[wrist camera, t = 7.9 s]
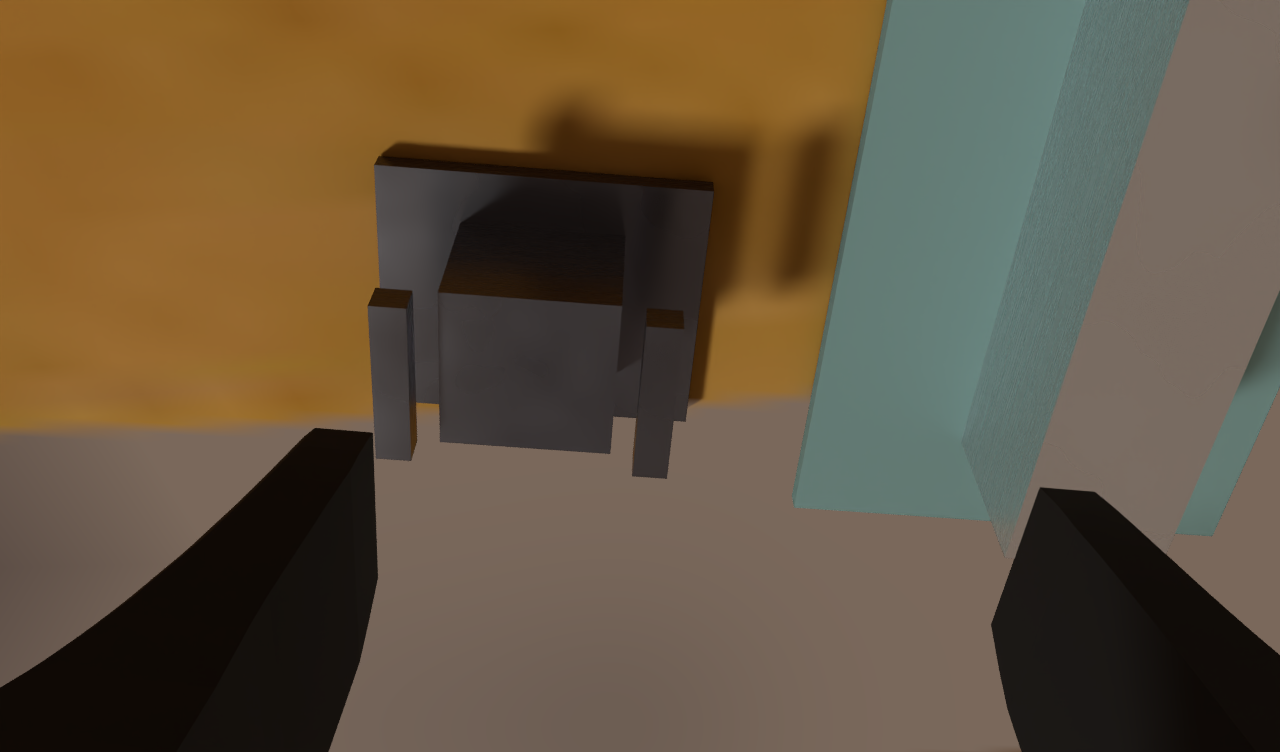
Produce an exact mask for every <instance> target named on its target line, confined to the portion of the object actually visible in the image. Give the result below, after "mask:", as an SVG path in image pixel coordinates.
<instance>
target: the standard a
mask: <svg viewBox="0 0 1280 752" xmlns="http://www.w3.org/2000/svg"><path fill="white" fill-rule="evenodd" d="M374 171H375V192H376V213H377V234H378V255H379V276H380V288H375V290H374V292H373V295H372V297H371V300H370V302H369V304H368V320H369V338H370V356H371V375H372V393H373V412H374V427H375V429H374V430H375V448H376V458H377V459H391V460H407V461H411V460H412V456H413V453H414V450H415V446H416V443H417V417H416V402H418V403H432V404H439V411H440V442H449V443H464V444H477V445H491V446H506V447H520V448H534V449H535V448H536V449H548V450H564V451H577V452H592V453H605V454H606V453H607V454H610V449H611V438H612V425H613V416H615V417H628V418H636V427H635V438H634V448H633V466H632V476H636V477H651V478H665V479H667V472H668V464H669V455H670V447H671V438H672V430H673V421H686V414H687V406H688V397H689V389H690V381H691V373H692V365H693V357H694V349H695V341H696V333H697V324H698V316H699V308H700V300H701V292H702V284H703V276H704V268H705V260H706V252H707V243H708V235H709V227H710V219H711V211H712V203H713V195H714V188H713V182H700V181H687V180H675V179H662V178H649V177H636V176H624V175H611V174H598V173H585V172H573V171H560V170H547V169H534V168H522V167H509V166H496V165H483V164H471V163H458V162H445V161H432V160H420V159H407V158H394V157H381V156H379V157H378V159H377V161H376V163H375V164H374Z"/></svg>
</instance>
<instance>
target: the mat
mask: <svg viewBox="0 0 1280 752" xmlns="http://www.w3.org/2000/svg"><path fill="white" fill-rule="evenodd" d="M1085 2H1086V0H887V5H886V10H885V15H884V20H883V25H882V31H881V36H880V41H879V46H878V51H877V57H876V62H875V67H874V72H873V77H872V83H871V88H870V93H869V98H868V103H867V109H866V114H865V119H864V124H863V129H862V135H861V140H860V145H859V150H858V155H857V161H856V166H855V171H854V176H853V181H852V187H851V192H850V197H849V202H848V207H847V213H846V218H845V223H844V228H843V233H842V239H841V244H840V249H839V254H838V259H837V265H836V270H835V275H834V280H833V285H832V291H831V296H830V301H829V306H828V311H827V317H826V322H825V327H824V332H823V337H822V343H821V348H820V353H819V358H818V363H817V369H816V374H815V379H814V384H813V389H812V395H811V400H810V405H809V411H808V416H807V421H806V426H805V431H804V436H803V441H802V447H801V452H800V457H799V463H798V467H797V473H796V478H795V483H794V488H793V493H792V498H793V504H794V507H795V508H810V509H825V510H839V511H853V512H868V513H883V514H897V515H912V516H926V517H941V518H955V519H969V520H984V521H991V520H990V517H989V514H988V512H987V509H986V507H985V504H984V501H983V499H982V496H981V493H980V491H979V488H978V485H977V483H976V480H975V477H974V475H973V472H972V470H971V467H970V464H969V462H968V459H967V456H966V454H965V451H964V448H963V446H962V443H961V440H962V436H963V433H964V429H965V425H966V422H967V418H968V415H969V411H970V408H971V404H972V401H973V397H974V394H975V390H976V387H977V383H978V380H979V376H980V373H981V369H982V366H983V362H984V358H985V355H986V351H987V348H988V344H989V341H990V337H991V334H992V330H993V327H994V323H995V320H996V316H997V313H998V309H999V306H1000V302H1001V299H1002V295H1003V291H1004V288H1005V284H1006V281H1007V277H1008V274H1009V270H1010V267H1011V263H1012V260H1013V256H1014V253H1015V249H1016V246H1017V242H1018V239H1019V235H1020V232H1021V228H1022V224H1023V221H1024V217H1025V214H1026V210H1027V207H1028V203H1029V200H1030V196H1031V193H1032V189H1033V186H1034V182H1035V179H1036V175H1037V172H1038V168H1039V165H1040V161H1041V157H1042V154H1043V150H1044V147H1045V143H1046V140H1047V136H1048V133H1049V129H1050V126H1051V122H1052V119H1053V115H1054V112H1055V108H1056V105H1057V101H1058V98H1059V94H1060V90H1061V87H1062V83H1063V80H1064V76H1065V73H1066V69H1067V66H1068V62H1069V59H1070V55H1071V52H1072V48H1073V45H1074V41H1075V38H1076V34H1077V31H1078V27H1079V23H1080V20H1081V16H1082V13H1083V9H1084V6H1085ZM1279 388H1280V291H1279V293H1278V295H1277V298H1276V300H1275V302H1274V305H1273V307H1272V309H1271V312H1270V314H1269V316H1268V319H1267V321H1266V323H1265V326H1264V328H1263V330H1262V332H1261V335H1260V337H1259V339H1258V342H1257V344H1256V346H1255V349H1254V351H1253V353H1252V356H1251V358H1250V360H1249V363H1248V365H1247V367H1246V370H1245V372H1244V374H1243V377H1242V379H1241V381H1240V384H1239V386H1238V388H1237V391H1236V393H1235V395H1234V398H1233V400H1232V402H1231V405H1230V407H1229V409H1228V412H1227V414H1226V416H1225V419H1224V421H1223V423H1222V426H1221V428H1220V430H1219V432H1218V435H1217V437H1216V439H1215V442H1214V444H1213V446H1212V449H1211V451H1210V453H1209V456H1208V458H1207V460H1206V463H1205V465H1204V467H1203V470H1202V472H1201V474H1200V477H1199V479H1198V481H1197V484H1196V486H1195V488H1194V491H1193V493H1192V495H1191V498H1190V500H1189V502H1188V505H1187V507H1186V509H1185V512H1184V514H1183V516H1182V519H1181V521H1180V523H1179V526H1178V528H1177V530H1176V532H1175V534H1187V535H1202V536H1212V535H1213V533H1214V531H1215V529H1216V527H1217V524H1218V522H1219V520H1220V518H1221V516H1222V513H1223V511H1224V509H1225V507H1226V504H1227V502H1228V500H1229V498H1230V496H1231V493H1232V491H1233V489H1234V487H1235V485H1236V483H1237V480H1238V478H1239V476H1240V474H1241V471H1242V469H1243V467H1244V465H1245V463H1246V461H1247V458H1248V456H1249V454H1250V452H1251V450H1252V447H1253V445H1254V443H1255V441H1256V438H1257V436H1258V434H1259V432H1260V430H1261V427H1262V425H1263V423H1264V421H1265V419H1266V416H1267V414H1268V412H1269V410H1270V408H1271V405H1272V403H1273V401H1274V399H1275V397H1276V394H1277V392H1278V390H1279Z"/></svg>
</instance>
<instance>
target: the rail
mask: <svg viewBox="0 0 1280 752" xmlns="http://www.w3.org/2000/svg"><path fill="white" fill-rule="evenodd" d="M1279 291H1280V0H1086V2H1085V6H1084V9H1083V13H1082V16H1081V20H1080V23H1079V27H1078V31H1077V34H1076V38H1075V41H1074V45H1073V48H1072V52H1071V55H1070V59H1069V62H1068V66H1067V69H1066V73H1065V76H1064V80H1063V83H1062V87H1061V90H1060V94H1059V98H1058V101H1057V105H1056V108H1055V112H1054V115H1053V119H1052V122H1051V126H1050V129H1049V133H1048V136H1047V140H1046V143H1045V147H1044V150H1043V154H1042V157H1041V161H1040V165H1039V168H1038V172H1037V175H1036V179H1035V182H1034V186H1033V189H1032V193H1031V196H1030V200H1029V203H1028V207H1027V210H1026V214H1025V217H1024V221H1023V224H1022V228H1021V232H1020V235H1019V239H1018V242H1017V246H1016V249H1015V253H1014V256H1013V260H1012V263H1011V267H1010V270H1009V274H1008V277H1007V281H1006V284H1005V288H1004V291H1003V295H1002V299H1001V302H1000V306H999V309H998V313H997V316H996V320H995V323H994V327H993V330H992V334H991V337H990V341H989V344H988V348H987V351H986V355H985V358H984V362H983V366H982V369H981V373H980V376H979V380H978V383H977V387H976V390H975V394H974V397H973V401H972V404H971V408H970V411H969V415H968V418H967V422H966V425H965V429H964V433H963V436H962V440H961V443H962V446H963V448H964V451H965V454H966V456H967V459H968V462H969V464H970V467H971V470H972V472H973V475H974V477H975V480H976V483H977V485H978V488H979V491H980V493H981V496H982V499H983V501H984V504H985V507H986V509H987V512H988V514H989V517H990V520H991V522H992V525H993V528H994V530H995V533H996V536H997V538H998V541H999V543H1000V546H1001V549H1002V551H1003V554H1004V557H1005V558H1014V559H1015V556H1016V553H1017V550H1018V547H1019V544H1020V542H1021V539H1022V536H1023V533H1024V530H1025V527H1026V525H1027V522H1028V519H1029V516H1030V513H1031V510H1032V508H1033V505H1034V502H1035V499H1036V496H1037V493H1038V491H1039V488H1040V487H1044V488H1056V489H1068V490H1080V491H1093V492H1096V493H1097V494H1098V495H1100V496H1101V497H1102V498H1103V499H1105V500H1106V501H1107V502H1108V503H1109V504H1111V505H1112V506H1113V507H1114V508H1115V509H1116V510H1118V511H1119V512H1120V513H1121V514H1122V515H1123V516H1124V517H1126V518H1127V519H1128V520H1129V521H1130V522H1131V523H1132V524H1133V525H1134V526H1136V527H1137V528H1138V529H1139V530H1140V531H1141V532H1142V533H1143V534H1144V535H1145V536H1147V537H1148V538H1149V539H1150V540H1151V541H1152V542H1153V543H1154V544H1155V545H1156V546H1157V547H1159V548H1160V549H1161V550H1162V551H1163V552H1164V553H1165V554H1166V553H1167V551H1168V549H1169V546H1170V544H1171V542H1172V539H1173V537H1174V534H1175V532H1176V530H1177V528H1178V526H1179V523H1180V521H1181V519H1182V516H1183V514H1184V512H1185V509H1186V507H1187V505H1188V502H1189V500H1190V498H1191V495H1192V493H1193V491H1194V488H1195V486H1196V484H1197V481H1198V479H1199V477H1200V474H1201V472H1202V470H1203V467H1204V465H1205V463H1206V460H1207V458H1208V456H1209V453H1210V451H1211V449H1212V446H1213V444H1214V442H1215V439H1216V437H1217V435H1218V432H1219V430H1220V428H1221V426H1222V423H1223V421H1224V419H1225V416H1226V414H1227V412H1228V409H1229V407H1230V405H1231V402H1232V400H1233V398H1234V395H1235V393H1236V391H1237V388H1238V386H1239V384H1240V381H1241V379H1242V377H1243V374H1244V372H1245V370H1246V367H1247V365H1248V363H1249V360H1250V358H1251V356H1252V353H1253V351H1254V349H1255V346H1256V344H1257V342H1258V339H1259V337H1260V335H1261V332H1262V330H1263V328H1264V326H1265V323H1266V321H1267V319H1268V316H1269V314H1270V312H1271V309H1272V307H1273V305H1274V302H1275V300H1276V298H1277V295H1278V293H1279Z"/></svg>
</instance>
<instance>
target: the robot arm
mask: <svg viewBox="0 0 1280 752" xmlns="http://www.w3.org/2000/svg"><path fill="white" fill-rule="evenodd" d="M373 455H374V454H373V433H370V432H358V431H346V430H333V429H321V428H314V429H313V430H312V431H311V432H309V433H308V434H307V435H306V436H304V438H302V439H301V441H299V443H297V445H295V447H293V448H292V449H291V450H290V452H289V453H288V454H287V455H286V456H285V457H284V458H283V459H282V460H281V461H280V462H279V463H278V464H277V465H276V466H275V467H274V468H273V469H272V470H271V471H270V472H269V473H268V474H267V475H266V476H265V477H264V478H263V479H262V480H261V481H260V482H259V483H258V484H257V485H256V486H255V487H254V488H253V489H252V490H251V491H250V492H249V493H248V494H246V496H244V497H243V498H242V500H240V501H239V502H238V503H237V504H236V505H235V506H234V507H233V508H232V509H231V510H230V511H229V512H228V513H227V514H226V515H224V516H223V517H222V518H221V519H220V520H219V521H218V522H217V523H216V524H215V525H214V526H212V527H211V528H210V529H209V530H208V531H207V532H206V533H205V534H204V535H203V536H202V537H201V538H199V539H198V540H197V541H196V542H195V543H194V544H193V545H192V546H191V547H190V548H188V549H187V550H186V551H185V552H184V553H183V554H182V555H181V556H179V557H178V558H177V559H176V560H174V561H173V562H172V563H171V564H170V565H168V566H167V567H166V568H165V569H164V570H163V571H161V572H160V573H159V574H158V575H157V576H155V577H154V578H153V579H152V580H150V581H149V582H148V583H147V584H146V585H144V586H143V587H142V588H141V589H140V590H138V591H137V592H136V593H135V594H134V595H132V596H131V597H130V598H129V599H127V600H126V601H125V602H124V603H122V604H121V605H120V606H119V607H117V608H116V609H115V610H113V611H112V612H111V613H110V614H108V615H107V616H105V617H104V618H103V619H102V620H100V621H99V622H98V623H96V624H95V625H94V626H92V627H91V628H89V629H88V630H87V631H85V632H84V633H83V634H81V635H80V636H79V637H77V638H76V639H74V640H73V641H71V642H70V643H68V644H67V645H66V646H64V647H63V648H61V649H60V650H59V651H57V652H56V653H54V654H53V655H51V656H50V657H48V658H47V659H46V660H44V661H43V662H41V663H40V664H38V665H36V666H35V667H33V668H32V669H30V670H29V671H27V672H25V673H24V674H22V675H20V676H19V677H17V678H16V679H14V680H12V681H10V682H9V683H7V684H5V685H4V686H2V687H0V752H328V751H329V749H330V746H331V743H332V740H333V737H334V734H335V731H336V729H337V725H338V723H339V720H340V717H341V714H342V712H343V708H344V706H345V703H346V700H347V697H348V694H349V691H350V688H351V685H352V683H353V680H354V677H355V674H356V671H357V668H358V665H359V662H360V658H361V653H362V649H363V645H364V640H365V636H366V631H367V627H368V622H369V618H370V613H371V608H372V603H373V599H374V594H375V589H376V584H377V580H378V568H377V539H376V513H375V483H374V456H373ZM991 627H992V632H993V638H994V642H995V649H996V654H997V659H998V665H999V671H1000V675H1001V680H1002V685H1003V689H1004V695H1005V699H1006V704H1007V708H1008V711H1009V715H1010V718H1011V721H1012V724H1013V727H1014V730H1015V733H1016V736H1017V739H1018V742H1019V745H1020V748H1021V751H1022V752H1280V655H1279V654H1278V653H1277V652H1275V651H1274V650H1273V649H1272V648H1271V647H1270V646H1268V645H1267V644H1266V643H1265V642H1264V641H1263V640H1261V639H1260V638H1259V637H1258V636H1257V635H1255V634H1254V633H1253V632H1252V631H1251V630H1250V629H1248V628H1247V627H1246V626H1245V625H1244V624H1243V623H1242V622H1240V621H1239V620H1238V619H1237V618H1236V617H1235V616H1234V615H1232V614H1231V613H1230V612H1229V611H1228V610H1227V609H1226V608H1225V607H1223V606H1222V605H1221V604H1220V603H1219V602H1218V601H1217V600H1216V599H1214V598H1213V597H1212V596H1211V595H1210V594H1209V593H1208V592H1207V591H1206V590H1204V589H1203V588H1202V587H1201V586H1200V585H1199V584H1198V583H1197V582H1196V581H1195V580H1193V579H1192V578H1191V577H1190V576H1189V575H1188V574H1187V573H1186V572H1185V571H1184V570H1183V569H1181V568H1180V567H1179V566H1178V565H1177V564H1176V563H1175V562H1174V561H1173V560H1172V559H1170V558H1169V557H1168V556H1167V555H1166V554H1165V553H1164V552H1163V551H1162V550H1161V549H1160V548H1159V547H1157V546H1156V545H1155V544H1154V543H1153V542H1152V541H1151V540H1150V539H1149V538H1148V537H1147V536H1145V535H1144V534H1143V533H1142V532H1141V531H1140V530H1139V529H1138V528H1137V527H1136V526H1134V525H1133V524H1132V523H1131V522H1130V521H1129V520H1128V519H1127V518H1126V517H1124V516H1123V515H1122V514H1121V513H1120V512H1119V511H1118V510H1116V509H1115V508H1114V507H1113V506H1112V505H1111V504H1109V503H1108V502H1107V501H1106V500H1105V499H1103V498H1102V497H1101V496H1100V495H1098V494H1097V493H1096V492H1093V491H1080V490H1068V489H1056V488H1044V487H1040V488H1039V491H1038V493H1037V496H1036V499H1035V502H1034V505H1033V508H1032V510H1031V513H1030V516H1029V519H1028V522H1027V525H1026V527H1025V530H1024V533H1023V536H1022V539H1021V542H1020V544H1019V547H1018V550H1017V553H1016V556H1015V559H1014V561H1013V564H1012V567H1011V570H1010V573H1009V576H1008V579H1007V581H1006V584H1005V587H1004V590H1003V592H1002V595H1001V598H1000V601H999V604H998V607H997V610H996V612H995V615H994V618H993V621H992V624H991Z"/></svg>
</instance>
